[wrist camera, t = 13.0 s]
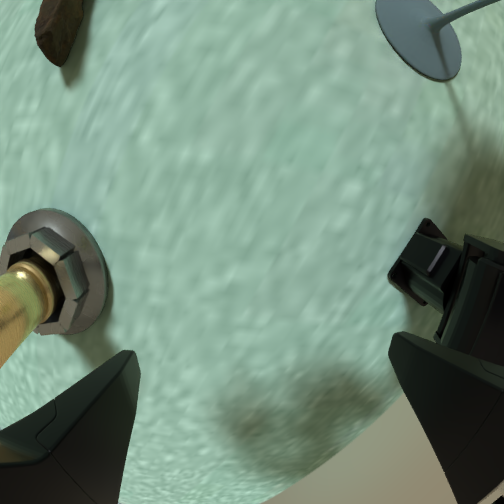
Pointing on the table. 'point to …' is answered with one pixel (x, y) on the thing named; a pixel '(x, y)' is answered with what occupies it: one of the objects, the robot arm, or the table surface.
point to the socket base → (86, 252)
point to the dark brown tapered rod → (58, 28)
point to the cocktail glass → (424, 34)
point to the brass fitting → (26, 301)
